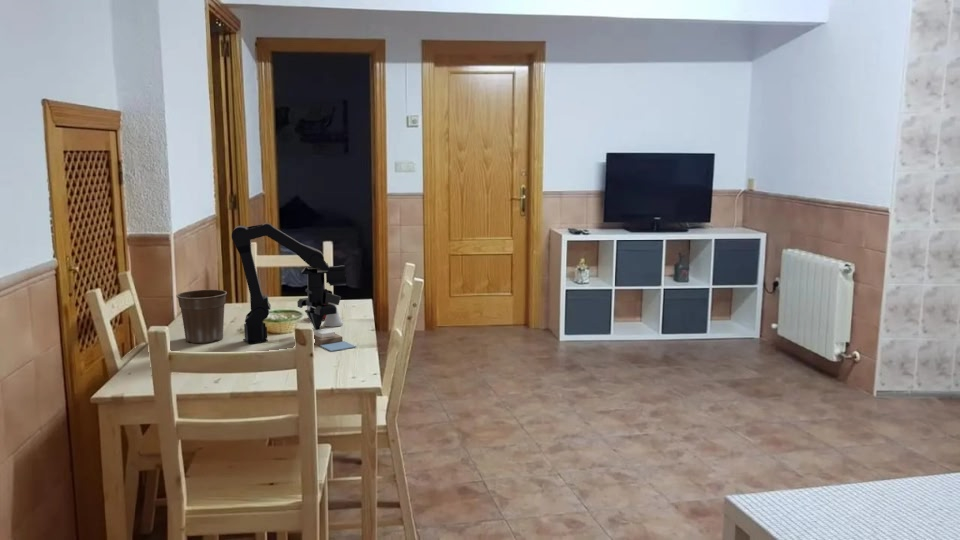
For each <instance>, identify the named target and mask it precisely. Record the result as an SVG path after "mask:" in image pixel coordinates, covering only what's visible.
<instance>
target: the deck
mask: <svg viewBox="0 0 960 540" xmlns="http://www.w3.org/2000/svg"><path fill="white" fill-rule="evenodd" d="M314 339H315V343H316V344H315V343H314V344H315V345H317V346H320V345H325V344H331V343H337V342H343V336H342V335H340V334H337V333H335V336H333V337H326V338H320V337H318V336H316V335H314Z"/></svg>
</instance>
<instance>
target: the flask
mask: <svg viewBox="0 0 960 540" xmlns="http://www.w3.org/2000/svg"><path fill="white" fill-rule="evenodd" d="M329 304H331V305H334V306H335V307H336V308H337V313H336V314H329V315H326V318H325V320H323V321H324V322H323V324H322V325H323V326H325V327H326V328H327V327H330V328H331V327H332V328H333V327H341V326H343V324H344V323H343V320H342V318H341V315H340V313H339V310H338V307H337V306H338V305H336V304H333V303H329Z"/></svg>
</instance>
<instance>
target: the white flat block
mask: <svg viewBox="0 0 960 540" xmlns="http://www.w3.org/2000/svg"><path fill="white" fill-rule="evenodd" d="M313 334H314V335H316V336H318V337H320V338H326V337H333V336H335V334H336V331H334V330H332V329H330V328H327V327H326V328H322V329H321V328H320V330H315V329H314V330H313Z"/></svg>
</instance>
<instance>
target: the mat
mask: <svg viewBox="0 0 960 540" xmlns="http://www.w3.org/2000/svg"><path fill="white" fill-rule="evenodd" d="M319 347H320V348H322V349H325V350H327V351H329V352H330V353H332V352H339V351H344V350H349V349H355V347H356V348H357V346H356V345H354V344H352V343H349V342H348V341H343V342H337V343H331V344H325V345H319Z"/></svg>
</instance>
